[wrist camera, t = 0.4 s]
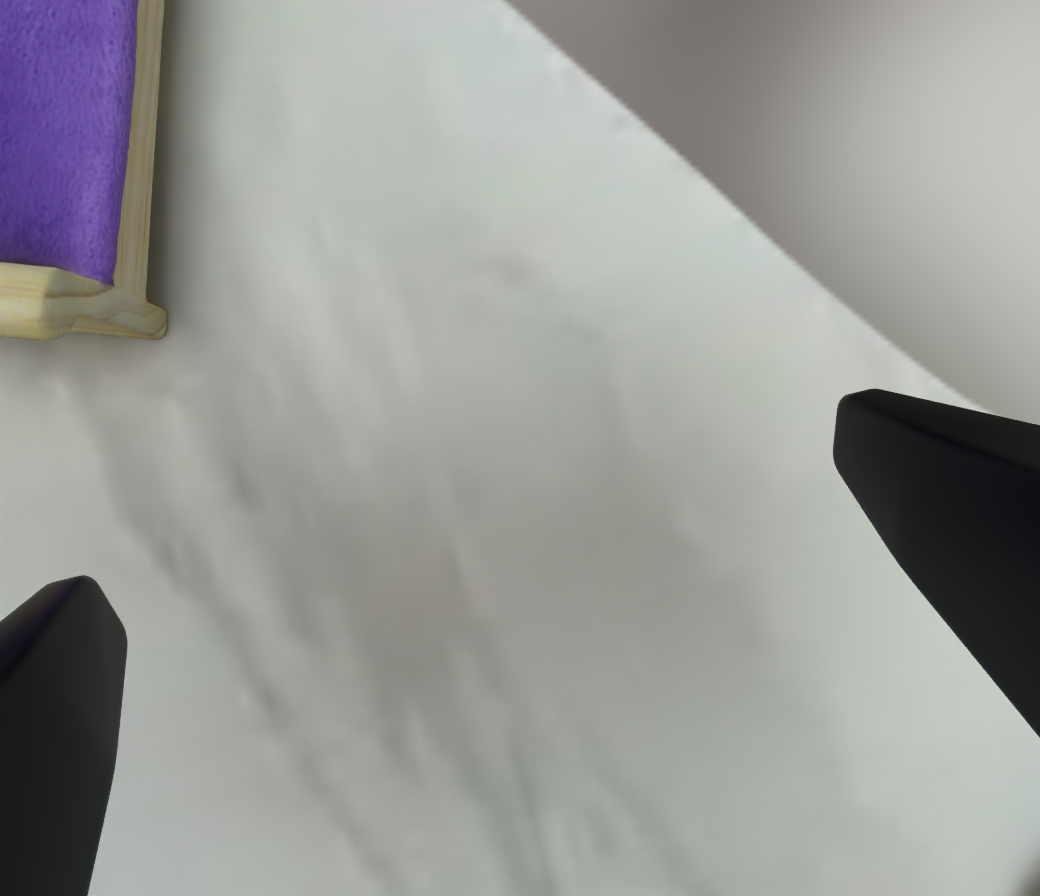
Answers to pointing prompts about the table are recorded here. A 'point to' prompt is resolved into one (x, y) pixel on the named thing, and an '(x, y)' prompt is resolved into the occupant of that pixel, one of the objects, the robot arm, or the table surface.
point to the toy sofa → (77, 166)
